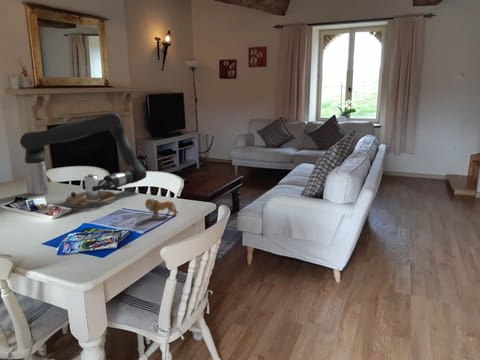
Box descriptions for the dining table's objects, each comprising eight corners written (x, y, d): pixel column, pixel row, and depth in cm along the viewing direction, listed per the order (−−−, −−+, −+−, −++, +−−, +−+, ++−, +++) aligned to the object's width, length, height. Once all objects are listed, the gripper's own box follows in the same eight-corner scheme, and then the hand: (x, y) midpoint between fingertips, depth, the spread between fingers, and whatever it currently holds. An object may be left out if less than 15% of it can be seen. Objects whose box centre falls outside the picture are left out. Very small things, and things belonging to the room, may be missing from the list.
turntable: (56, 205, 175) (56, 199, 174) (79, 192, 198) (79, 186, 197) (103, 206, 174) (103, 199, 173) (121, 193, 196) (121, 187, 196)
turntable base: (55, 207, 175) (55, 205, 175) (79, 194, 198) (79, 192, 198) (104, 208, 174) (104, 206, 173) (123, 194, 197) (123, 193, 197)
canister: (83, 202, 176) (80, 176, 173) (89, 198, 183) (87, 173, 180) (97, 202, 176) (94, 176, 173) (103, 198, 183) (100, 173, 179)
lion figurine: (147, 220, 158) (146, 200, 156) (144, 217, 162) (143, 197, 160) (180, 215, 165) (179, 196, 163) (176, 211, 170) (175, 193, 167)
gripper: (104, 172, 192) (76, 179, 178) (124, 175, 186) (97, 182, 172) (105, 186, 194) (78, 194, 180) (125, 189, 188) (99, 198, 173)
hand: (88, 188), depth 176 cm, fingers closed on canister, 6 cm apart
